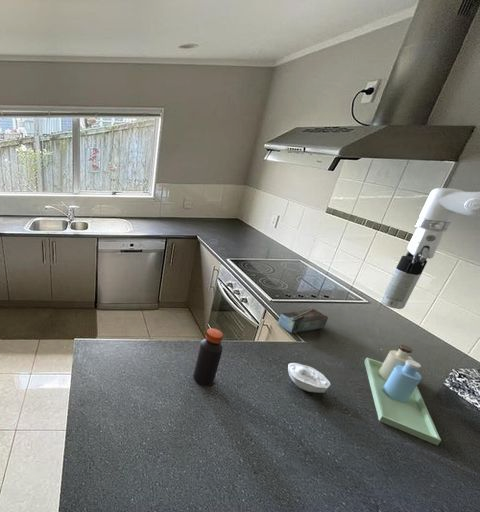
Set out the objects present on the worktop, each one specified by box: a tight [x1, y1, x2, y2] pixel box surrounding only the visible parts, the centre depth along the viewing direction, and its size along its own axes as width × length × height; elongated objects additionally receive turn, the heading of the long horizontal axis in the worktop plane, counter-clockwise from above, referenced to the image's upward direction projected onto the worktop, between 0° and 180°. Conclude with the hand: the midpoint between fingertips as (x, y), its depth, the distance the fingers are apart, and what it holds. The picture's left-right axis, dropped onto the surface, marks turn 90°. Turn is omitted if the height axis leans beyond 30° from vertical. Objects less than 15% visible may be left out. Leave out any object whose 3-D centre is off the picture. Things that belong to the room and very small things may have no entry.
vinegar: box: [193, 327, 224, 387], centre depth 94 cm, size 7×7×20 cm
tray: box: [363, 357, 442, 446], centre depth 93 cm, size 12×31×3 cm, turn 144°
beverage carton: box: [277, 308, 329, 334], centre depth 128 cm, size 8×19×7 cm, turn 103°
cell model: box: [287, 362, 331, 393], centre depth 95 cm, size 10×12×7 cm
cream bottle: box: [378, 344, 415, 381], centre depth 98 cm, size 6×6×14 cm
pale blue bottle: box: [382, 359, 423, 402], centre depth 91 cm, size 6×6×14 cm
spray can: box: [380, 255, 428, 310], centre depth 106 cm, size 7×7×20 cm
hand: (408, 270), depth 104 cm, fingers closed on spray can, 6 cm apart
